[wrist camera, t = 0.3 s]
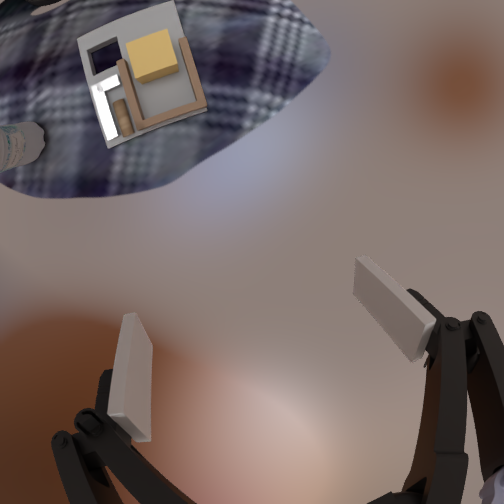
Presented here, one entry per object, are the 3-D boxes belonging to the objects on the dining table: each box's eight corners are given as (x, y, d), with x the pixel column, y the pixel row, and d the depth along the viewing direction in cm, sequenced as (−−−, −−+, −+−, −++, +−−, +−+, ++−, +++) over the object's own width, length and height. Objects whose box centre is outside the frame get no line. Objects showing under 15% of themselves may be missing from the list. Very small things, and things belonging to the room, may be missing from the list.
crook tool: (94, 87, 27) (90, 86, 26) (119, 76, 28) (117, 74, 26) (110, 139, 31) (107, 140, 30) (135, 128, 32) (133, 128, 30)
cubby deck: (81, 42, 25) (70, 34, 21) (173, 5, 26) (172, -8, 22) (111, 147, 33) (102, 150, 29) (206, 111, 34) (208, 109, 30)
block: (132, 53, 27) (125, 43, 22) (169, 40, 27) (167, 28, 23) (142, 84, 29) (135, 78, 25) (178, 71, 29) (177, 63, 25)
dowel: (113, 103, 29) (110, 103, 28) (124, 99, 29) (122, 97, 28) (124, 137, 32) (122, 137, 30) (135, 132, 32) (133, 132, 30)
